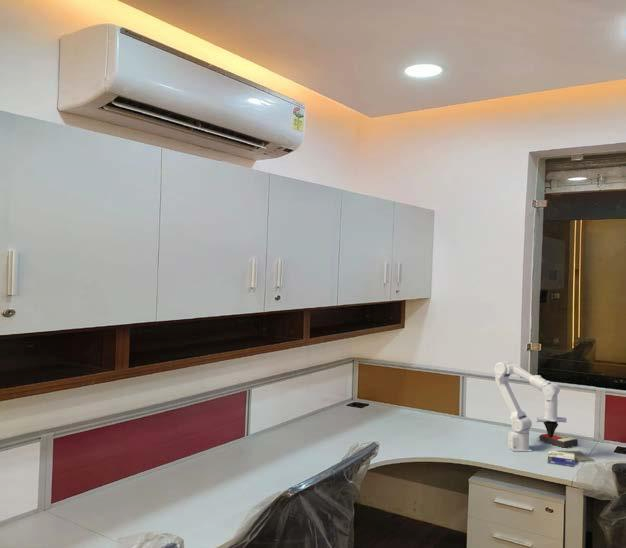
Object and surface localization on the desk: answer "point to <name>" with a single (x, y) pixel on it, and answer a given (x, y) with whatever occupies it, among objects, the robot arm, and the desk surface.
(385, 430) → the desk surface
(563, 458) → the ink box
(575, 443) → the red and black box
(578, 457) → the desk mat
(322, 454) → the desk surface
